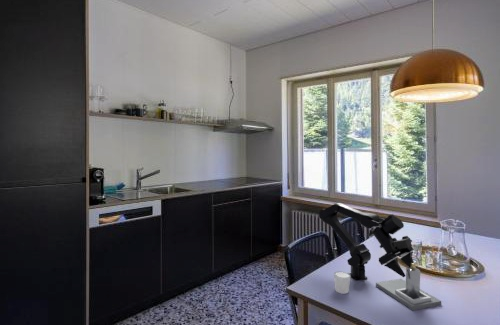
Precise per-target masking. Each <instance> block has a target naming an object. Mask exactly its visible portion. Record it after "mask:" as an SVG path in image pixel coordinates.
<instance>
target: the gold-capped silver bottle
mask: <svg viewBox="0 0 500 325" xmlns="http://www.w3.org/2000/svg"><path fill="white" fill-rule="evenodd" d="M416 265H417V264H416V263H415V262H414V263H411V267H409V266H407V267H406V268H405V281H406V295H407V296H409V297H410V298H412V299H417V298H420V289H421V269H419V268H417V267H416Z"/></svg>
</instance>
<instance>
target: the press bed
mask: <svg viewBox="0 0 500 325" xmlns="http://www.w3.org/2000/svg"><path fill="white" fill-rule="evenodd" d="M375 287H376V288H378V289H379V290H381V291H383V292H385V293H386V294H388V295H389V296H390V297H392V298H394V299H395V300H396V301H398V302H400V303H401V304H403V305H404V306H406V307H408V308H409V309H410V310H412V311H417V310H423V309H427V308H431V307H432V308H433V307H436V306H441V305H442V300H441V299H439V298H437V297H435V296H433V295H431V294H429V293H428V292H425V291H424V290H422V289H421V288H420V298H417V299H412V298H410V297H409V296H407V295H406V280H404V279H403V278H397V279H390V280H385V281H378V282H375Z"/></svg>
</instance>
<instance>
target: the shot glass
mask: <svg viewBox="0 0 500 325" xmlns="http://www.w3.org/2000/svg"><path fill="white" fill-rule="evenodd" d="M348 273H349V272H345V271H335V272H334V273H333V280H334V290H335V291H336V293H338V294H342V295H343V294H348V293H349V292H350V283H351V278H352V277H351V276H350V275H349V274H348Z"/></svg>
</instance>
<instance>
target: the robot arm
mask: <svg viewBox="0 0 500 325" xmlns="http://www.w3.org/2000/svg"><path fill="white" fill-rule="evenodd" d="M338 214H341V215H345V216H346V217H349V218H351V219H354V220H355V221H358V223H359V224H360V225H361V226H363V227H365V228H366V229H370V230H369V231H368V237H372V236H374V238H375V239H376V241H378V244H379V248H380V249H383V250H384V252H385V253H384V254H383V255H382V256H380V257H378V262H379V264H380V265H381V266H384V267H386V268H388V269H389V270H391V271H393V272H394V273H396V274H398V275H399V276H401V277H402V278H406V273H405V272H404V269H402V267H401V266H400V264H399V260H401V262H403V263H404V264H405V265H406V266H407V267H411V263H415V262H414V260H413V253H414V247H413V244H412V243H413V240H412V239H411V238H410V237H409V236H408V235H404V236H402V237H401V239H399V240H397V238H396V237H392V236H391V235H394V234H396V233H397V232H399V231H400V230H402V229H404V228H405V225H404V223H403V221H402V220H401V219H400V218H398V217H397V216H395V215H394V214H389V215H388V216H387V217H386V218H382V217H380V215H378V214H376V213H372V212H364V211H361V210H359V209H355V208H354V207H351V206H348V205H346V204H344V203H342V202H337V203H334V204H332V205H331V206H328V207H326V208H322V209H319V212H318V217H319V219H320V220H321V221H322V222H323V223H324V224H326V225H327V226H330V227H331V228H332V229H333V231H334V232H335V233H336V235H337V236H338V237H339V238H340V240H341V241H342V243H343V244H344V245H345V246H346V247H347V248H348V250H349V255H350V258H348V259H347V264H348V265H349V266H350V273H349V272H347V273H348V274H349V275H350V276H351V277H350V278H351V279H353V280H355V281H360V280H361V281H362V280H367V279H368V277H367V276H366V266H365V265H367V264H368V263H369V261H371V258H372V254H371V252H370V249H369V248H367V246H366V244H364V243H361V244H360V243H358V242H357V241H356V239H355V238H354V237H353V236H352V235H351V234H350V232H349V231H348V230H347V229H346V228H345V227H344V225H343V224H342V223H341V222H340V221H339V218H338ZM373 228H374V229H373ZM399 258H400V259H399Z"/></svg>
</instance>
